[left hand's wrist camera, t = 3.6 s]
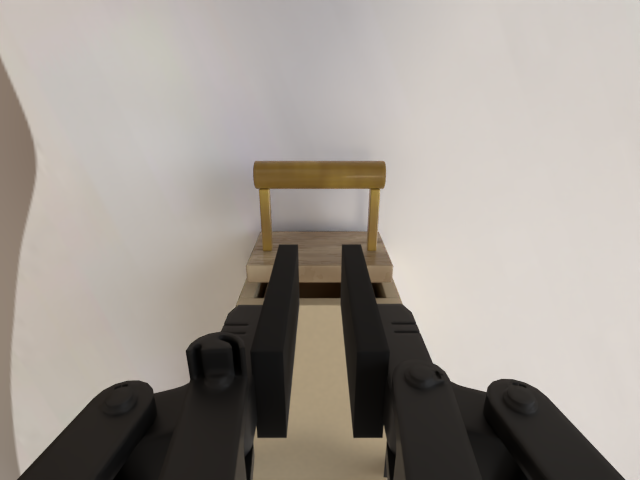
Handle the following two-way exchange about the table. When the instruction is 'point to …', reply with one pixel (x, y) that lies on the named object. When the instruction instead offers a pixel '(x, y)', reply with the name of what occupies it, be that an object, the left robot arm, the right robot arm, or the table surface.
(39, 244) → the table surface
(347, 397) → the wooden box
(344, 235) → the drawer
